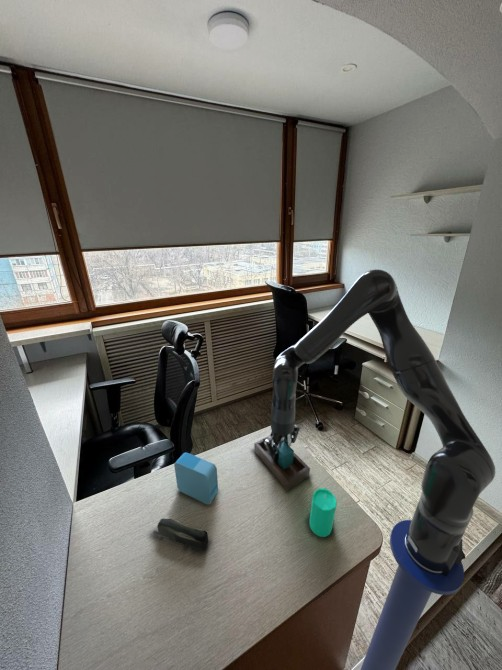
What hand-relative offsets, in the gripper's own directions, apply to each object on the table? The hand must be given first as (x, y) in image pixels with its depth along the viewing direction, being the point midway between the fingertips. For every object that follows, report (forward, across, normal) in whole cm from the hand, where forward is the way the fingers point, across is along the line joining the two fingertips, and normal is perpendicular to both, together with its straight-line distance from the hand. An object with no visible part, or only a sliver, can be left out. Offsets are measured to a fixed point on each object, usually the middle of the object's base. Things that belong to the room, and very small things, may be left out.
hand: (280, 456), depth 90 cm
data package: (+4, +28, -6) cm, 28 cm away
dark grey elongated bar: (+4, +37, +4) cm, 37 cm away
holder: (+3, 0, 0) cm, 3 cm away
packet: (+1, 0, 0) cm, 1 cm away
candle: (+4, +4, +22) cm, 22 cm away
